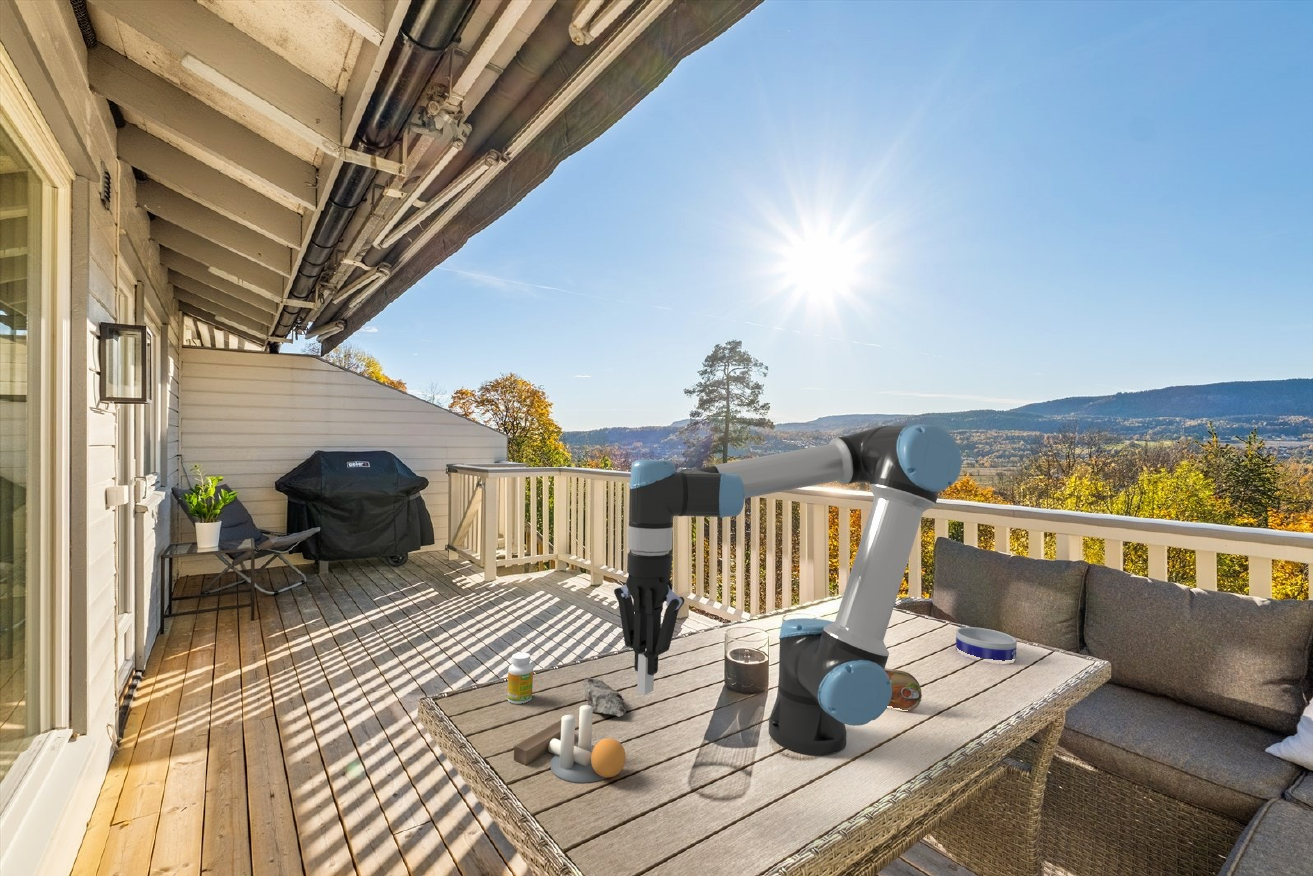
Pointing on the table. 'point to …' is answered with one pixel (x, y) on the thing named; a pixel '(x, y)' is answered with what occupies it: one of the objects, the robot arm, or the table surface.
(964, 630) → the dog bowl
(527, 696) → the supplement bottle
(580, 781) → the pin disc
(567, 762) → the pin
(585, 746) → the pin
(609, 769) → the ball
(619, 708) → the mineral rock
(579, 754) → the front pin
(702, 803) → the table surface
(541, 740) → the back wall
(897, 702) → the tin
